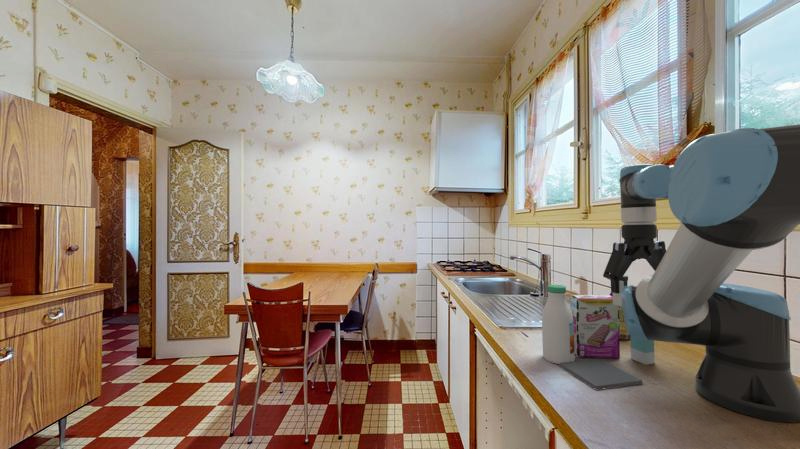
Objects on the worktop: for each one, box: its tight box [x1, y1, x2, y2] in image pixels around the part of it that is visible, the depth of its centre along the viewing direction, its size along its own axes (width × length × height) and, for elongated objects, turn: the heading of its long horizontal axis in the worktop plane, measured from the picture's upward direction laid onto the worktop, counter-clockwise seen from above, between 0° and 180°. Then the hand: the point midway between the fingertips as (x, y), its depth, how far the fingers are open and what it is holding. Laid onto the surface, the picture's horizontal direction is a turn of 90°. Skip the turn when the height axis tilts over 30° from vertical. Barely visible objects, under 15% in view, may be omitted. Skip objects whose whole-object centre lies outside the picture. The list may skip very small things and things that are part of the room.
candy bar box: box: [569, 294, 621, 359], centre depth 88 cm, size 11×5×16 cm, turn 84°
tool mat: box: [559, 358, 643, 390], centre depth 76 cm, size 12×12×1 cm
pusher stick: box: [629, 336, 656, 366], centre depth 83 cm, size 4×3×14 cm
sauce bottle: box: [609, 274, 630, 340], centre depth 101 cm, size 7×6×20 cm
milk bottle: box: [541, 284, 576, 365], centre depth 86 cm, size 8×8×20 cm
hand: (640, 303), depth 84 cm, fingers open, 13 cm apart
